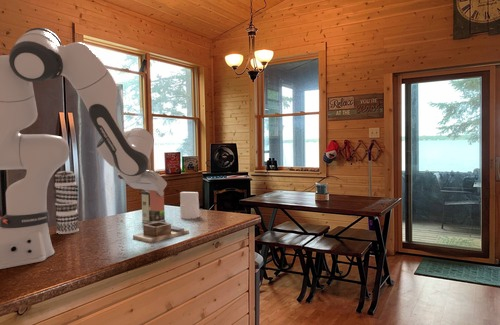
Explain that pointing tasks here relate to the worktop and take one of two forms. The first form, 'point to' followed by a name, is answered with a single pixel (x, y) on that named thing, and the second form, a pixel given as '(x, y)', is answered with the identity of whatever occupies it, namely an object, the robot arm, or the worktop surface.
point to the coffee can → (147, 214)
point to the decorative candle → (66, 202)
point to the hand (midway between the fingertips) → (157, 194)
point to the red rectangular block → (156, 201)
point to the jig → (159, 232)
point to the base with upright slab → (189, 205)
